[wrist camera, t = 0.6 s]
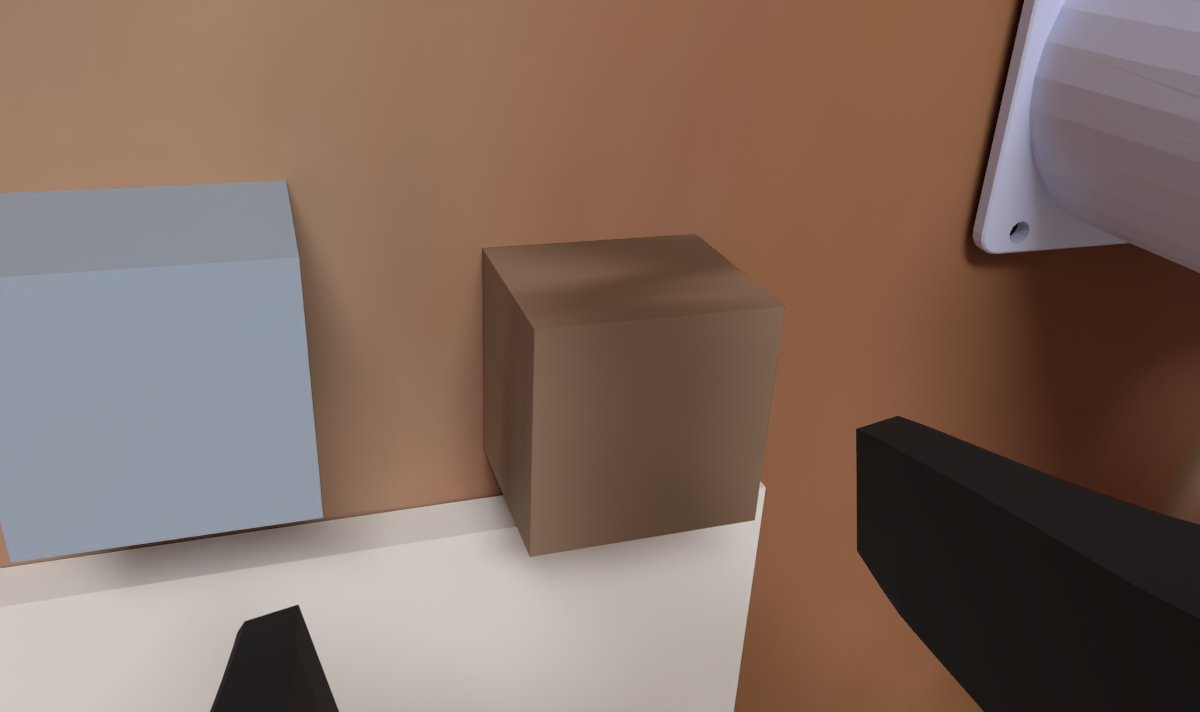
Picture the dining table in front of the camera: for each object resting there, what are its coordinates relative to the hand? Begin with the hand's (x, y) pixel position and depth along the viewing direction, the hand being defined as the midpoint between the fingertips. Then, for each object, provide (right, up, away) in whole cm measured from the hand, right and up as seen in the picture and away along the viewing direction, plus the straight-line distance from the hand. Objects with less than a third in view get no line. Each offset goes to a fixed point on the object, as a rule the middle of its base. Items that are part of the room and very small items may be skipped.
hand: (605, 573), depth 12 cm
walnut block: (0, +3, +9) cm, 9 cm away
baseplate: (-5, -6, +12) cm, 14 cm away
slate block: (-8, +4, +6) cm, 10 cm away
